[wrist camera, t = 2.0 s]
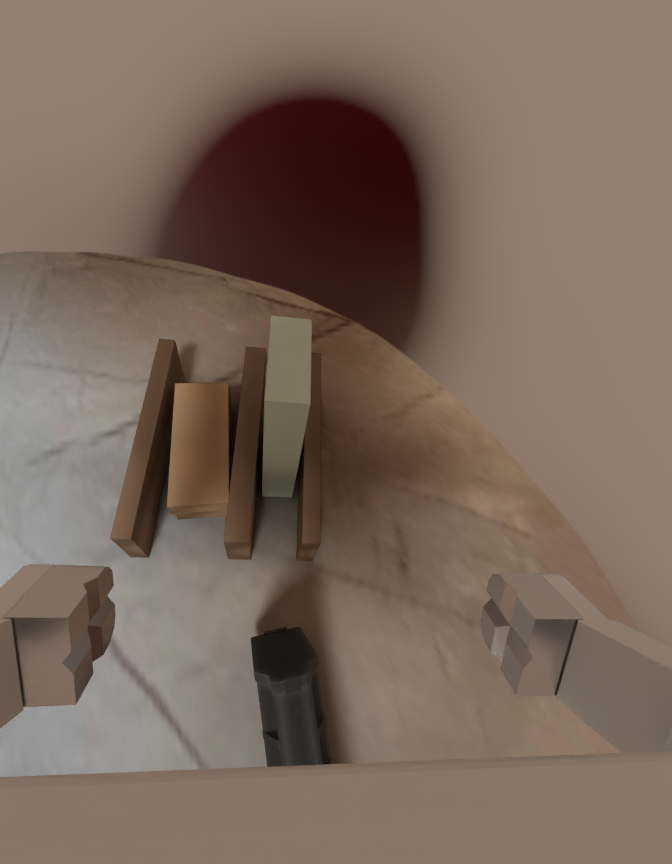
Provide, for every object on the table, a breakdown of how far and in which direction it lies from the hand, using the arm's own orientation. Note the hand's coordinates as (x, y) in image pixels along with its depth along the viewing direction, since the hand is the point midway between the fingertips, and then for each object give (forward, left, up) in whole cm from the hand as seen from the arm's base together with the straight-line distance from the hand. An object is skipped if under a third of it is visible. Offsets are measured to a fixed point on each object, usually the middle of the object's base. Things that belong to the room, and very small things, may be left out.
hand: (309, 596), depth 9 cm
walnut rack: (-4, +14, -23) cm, 27 cm away
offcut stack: (-6, +14, -23) cm, 28 cm away
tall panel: (0, +14, -23) cm, 27 cm away
